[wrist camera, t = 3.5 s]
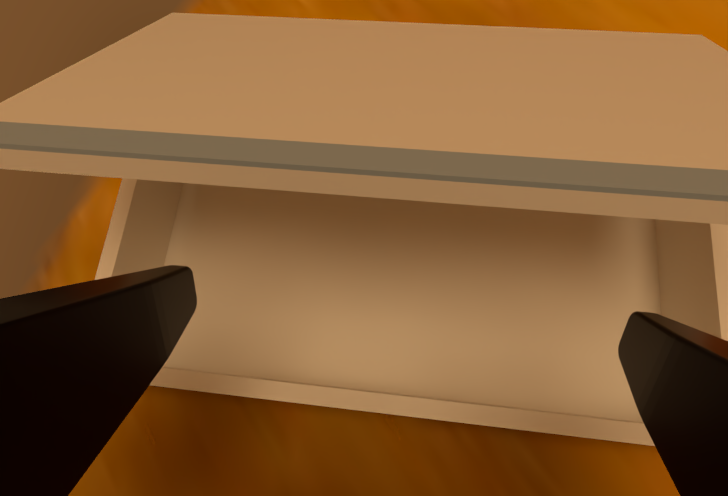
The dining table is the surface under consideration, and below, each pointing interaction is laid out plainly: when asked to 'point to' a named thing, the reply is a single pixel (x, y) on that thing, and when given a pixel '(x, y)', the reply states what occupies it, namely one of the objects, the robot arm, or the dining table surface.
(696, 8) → the dining table surface
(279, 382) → the carton
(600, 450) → the dining table surface
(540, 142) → the flap
